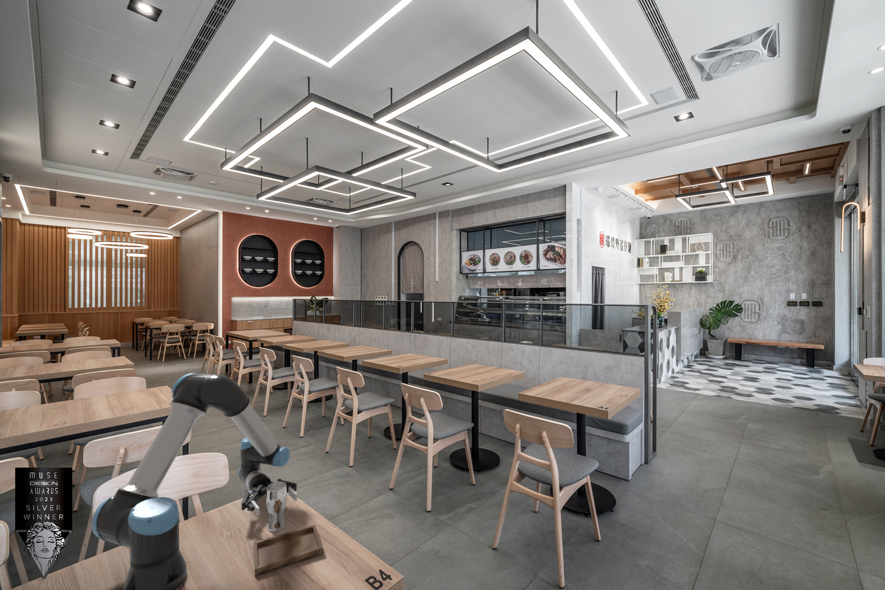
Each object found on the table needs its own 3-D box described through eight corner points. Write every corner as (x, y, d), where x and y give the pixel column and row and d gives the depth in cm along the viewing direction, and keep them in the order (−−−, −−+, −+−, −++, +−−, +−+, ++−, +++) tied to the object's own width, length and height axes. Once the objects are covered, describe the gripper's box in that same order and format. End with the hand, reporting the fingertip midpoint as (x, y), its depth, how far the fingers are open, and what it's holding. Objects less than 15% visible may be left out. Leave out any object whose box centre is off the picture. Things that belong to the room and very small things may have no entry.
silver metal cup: (279, 533, 136) (279, 492, 135) (262, 531, 137) (261, 490, 137) (291, 521, 143) (290, 482, 142) (274, 519, 144) (273, 480, 144)
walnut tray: (254, 576, 116) (254, 569, 116) (253, 548, 128) (253, 542, 128) (322, 554, 125) (322, 547, 125) (315, 530, 138) (315, 524, 138)
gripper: (289, 481, 164) (310, 501, 149) (224, 504, 147) (241, 529, 132) (289, 463, 164) (310, 482, 149) (224, 484, 147) (240, 508, 132)
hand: (278, 504), depth 140 cm, fingers open, 13 cm apart
